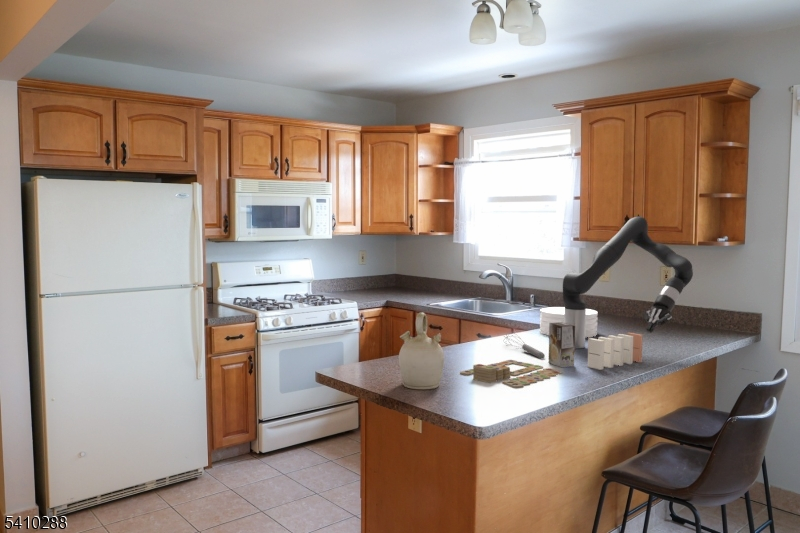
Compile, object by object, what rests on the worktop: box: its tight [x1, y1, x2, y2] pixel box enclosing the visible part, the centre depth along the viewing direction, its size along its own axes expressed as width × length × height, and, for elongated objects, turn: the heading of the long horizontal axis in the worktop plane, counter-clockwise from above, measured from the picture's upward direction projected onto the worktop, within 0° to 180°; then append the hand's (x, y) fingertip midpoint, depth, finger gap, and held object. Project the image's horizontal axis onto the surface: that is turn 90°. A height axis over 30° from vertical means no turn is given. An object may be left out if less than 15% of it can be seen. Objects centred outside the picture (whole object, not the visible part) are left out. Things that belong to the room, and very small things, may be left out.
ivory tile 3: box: [598, 336, 614, 369], centre depth 248 cm, size 2×6×11 cm, turn 34°
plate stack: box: [539, 306, 599, 339], centre depth 322 cm, size 28×28×12 cm
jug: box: [398, 311, 445, 391], centre depth 216 cm, size 15×16×25 cm
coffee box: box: [548, 322, 576, 368], centre depth 250 cm, size 9×6×16 cm
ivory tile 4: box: [587, 337, 604, 371], centre depth 245 cm, size 2×6×11 cm, turn 34°
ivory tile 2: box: [607, 334, 624, 367], centre depth 252 cm, size 2×6×11 cm, turn 35°
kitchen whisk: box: [503, 332, 546, 359], centre depth 275 cm, size 6×34×6 cm, turn 18°
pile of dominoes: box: [459, 359, 563, 389], centre depth 235 cm, size 35×27×6 cm
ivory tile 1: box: [617, 333, 634, 365], centre depth 255 cm, size 2×6×11 cm, turn 35°
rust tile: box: [626, 332, 644, 363], centre depth 258 cm, size 2×6×11 cm, turn 35°
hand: (648, 331), depth 264 cm, fingers closed
